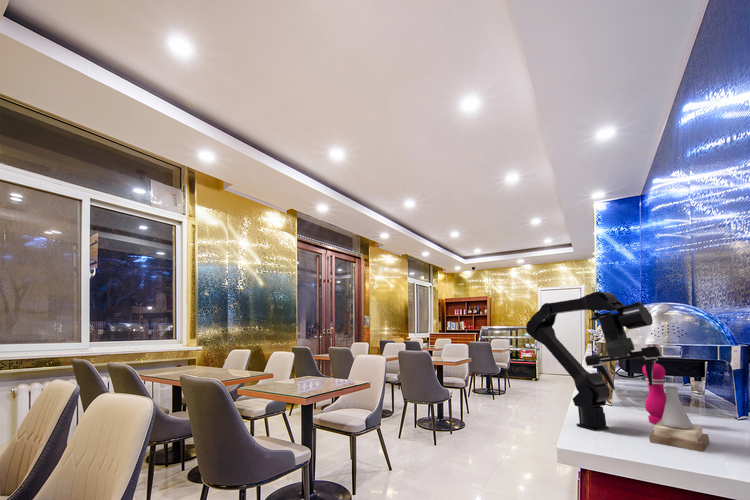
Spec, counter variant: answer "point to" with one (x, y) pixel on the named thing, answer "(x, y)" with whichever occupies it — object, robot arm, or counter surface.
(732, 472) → the counter surface
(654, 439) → the tower base
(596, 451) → the counter surface
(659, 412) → the pepper mill
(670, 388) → the flask
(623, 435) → the counter surface
